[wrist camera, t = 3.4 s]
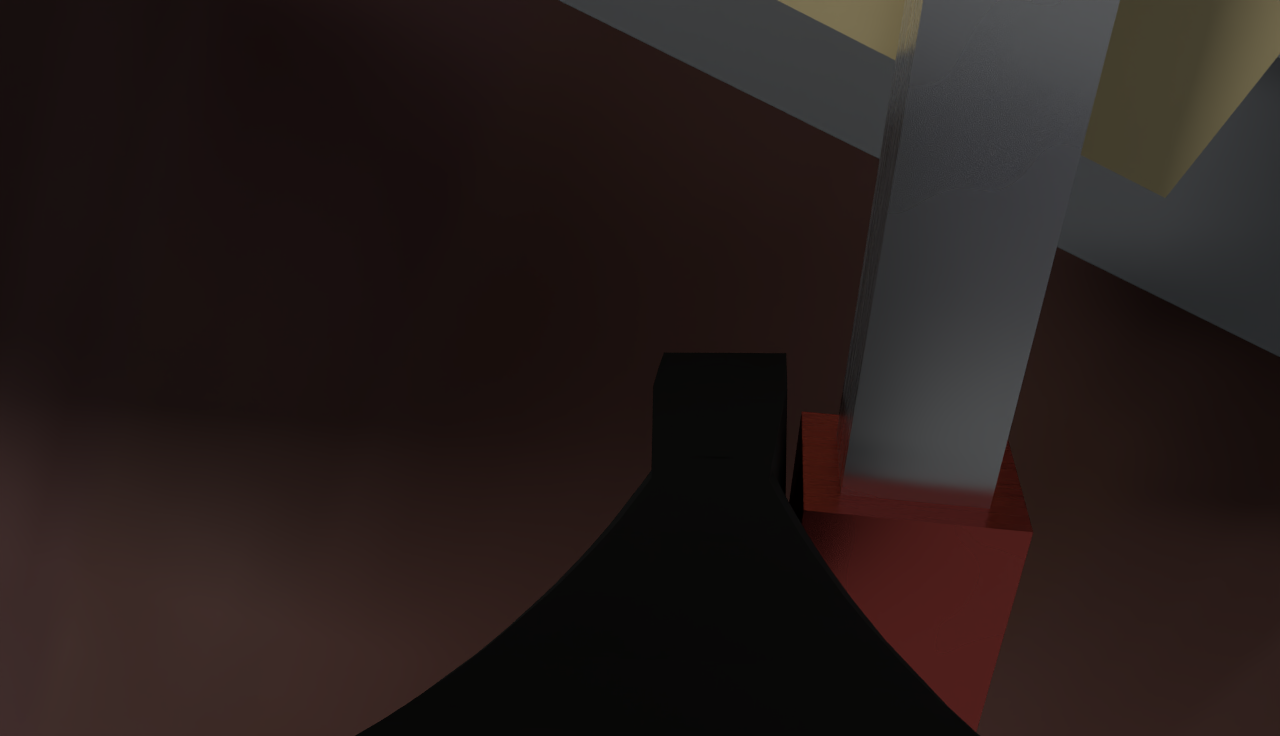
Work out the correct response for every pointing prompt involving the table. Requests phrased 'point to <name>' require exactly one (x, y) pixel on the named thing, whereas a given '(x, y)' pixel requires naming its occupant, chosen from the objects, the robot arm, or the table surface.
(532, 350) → the table surface
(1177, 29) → the valve on pipe
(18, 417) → the table surface
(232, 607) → the table surface
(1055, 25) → the valve lever
